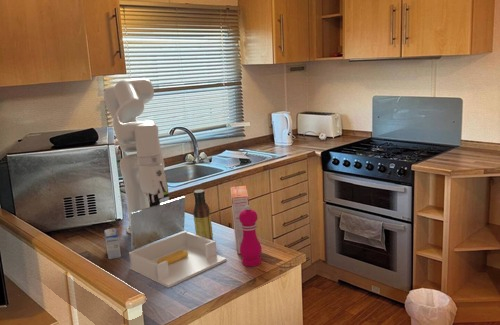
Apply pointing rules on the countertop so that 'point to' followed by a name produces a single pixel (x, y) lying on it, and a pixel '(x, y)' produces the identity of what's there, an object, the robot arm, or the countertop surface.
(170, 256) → the golden yellow ridged bar
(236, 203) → the cracker box
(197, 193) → the sauce bottle
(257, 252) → the pepper mill
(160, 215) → the cover
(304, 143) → the countertop surface
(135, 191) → the robot arm
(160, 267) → the white shallow open box
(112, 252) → the medicine box
